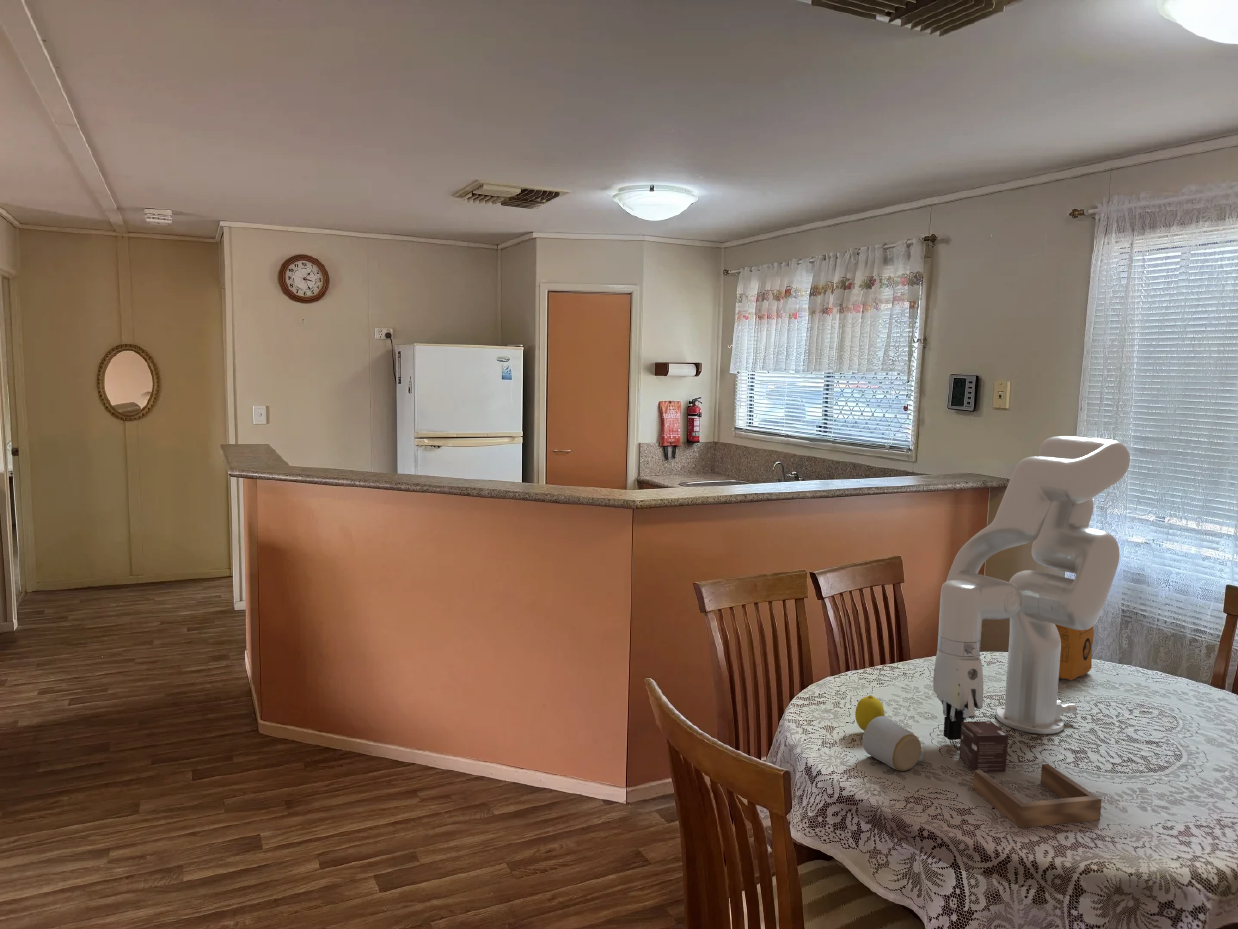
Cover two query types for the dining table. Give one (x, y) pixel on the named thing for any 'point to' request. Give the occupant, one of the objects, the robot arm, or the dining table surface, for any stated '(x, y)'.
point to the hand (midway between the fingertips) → (953, 737)
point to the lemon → (868, 711)
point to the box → (983, 746)
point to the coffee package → (1075, 652)
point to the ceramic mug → (892, 744)
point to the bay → (1047, 812)
